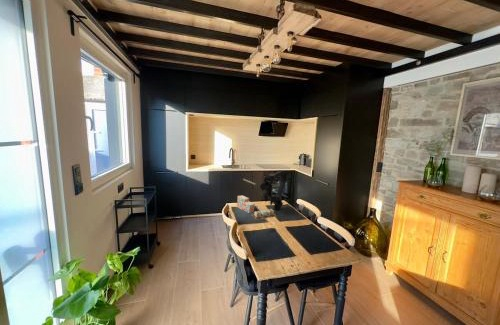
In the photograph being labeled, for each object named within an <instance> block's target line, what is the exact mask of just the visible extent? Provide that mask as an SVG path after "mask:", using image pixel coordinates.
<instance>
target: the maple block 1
mask: <svg viewBox="0 0 500 325" xmlns="http://www.w3.org/2000/svg"><path fill="white" fill-rule="evenodd" d="M253 214H254V215H255V216H256V217H259V216H261V210H257V211H256V210H254V212H253Z"/></svg>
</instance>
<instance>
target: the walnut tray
mask: <svg viewBox="0 0 500 325" xmlns="http://www.w3.org/2000/svg"><path fill="white" fill-rule="evenodd" d="M251 217H253V218H254V219H255V220H256V221H257V220H262V219H263V220H265V219H268V218H274V217H277V213H275V212H274V214H271V215H269V214H268V213H267V215H265V216H263V215H261V216H259V217H256V216H255V215H254V213H251Z"/></svg>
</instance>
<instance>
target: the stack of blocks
mask: <svg viewBox="0 0 500 325" xmlns="http://www.w3.org/2000/svg"><path fill="white" fill-rule="evenodd" d="M236 203H237V204H236V206H237V208H238V209H240V210H243V211H244V212H246V213H248V214H253V213H254V212H255V203H253V202H251V201H250V197H247V196H245V195H237V201H236Z"/></svg>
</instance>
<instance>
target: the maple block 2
mask: <svg viewBox="0 0 500 325" xmlns="http://www.w3.org/2000/svg"><path fill="white" fill-rule="evenodd" d="M266 211H267V213H268V214H269V215H271V214H274V213H275V210H274V209H272V208H269V209H266Z"/></svg>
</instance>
